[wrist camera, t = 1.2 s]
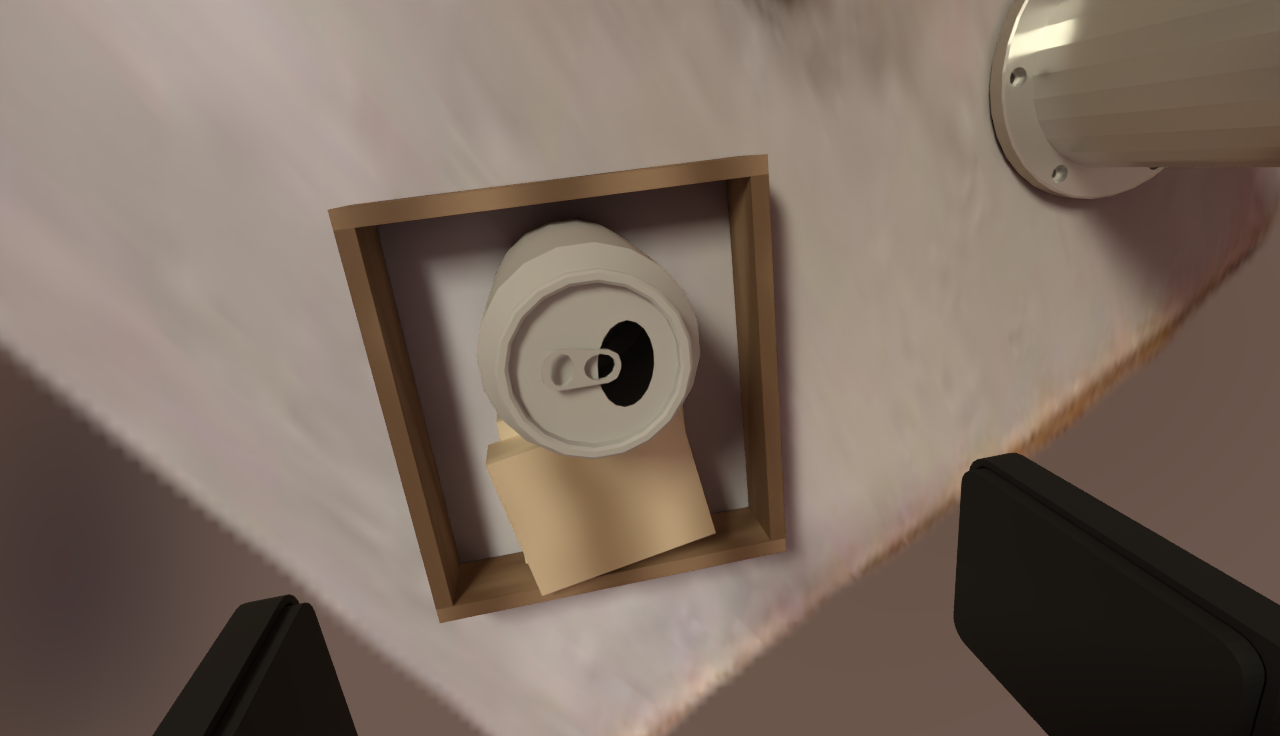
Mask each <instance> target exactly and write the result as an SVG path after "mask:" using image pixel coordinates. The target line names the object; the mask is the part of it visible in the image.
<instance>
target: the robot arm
mask: <svg viewBox="0 0 1280 736" xmlns="http://www.w3.org/2000/svg"><path fill="white" fill-rule="evenodd" d="M990 100H991V114H992V119H993V123H994V127H995V131H996V135H997V138H998V140H999V143H1000V145H1001V147H1002V149H1003V151H1004V154H1005V156H1006V158H1007V159H1008V160H1009V162H1010V163H1011V164H1012V166H1013V167H1014V168H1015V170H1016V171H1017V172H1018V173H1019V174H1020V175H1021V176H1022V177H1023V178H1024V179H1026V180H1027V181H1028V182H1029V183H1031V184H1032V185H1033V186H1034V187H1037V188H1039V189H1041V190H1043V191H1045V192H1047V193H1049V194H1052V195H1057V196H1062V197H1067V198H1081V199H1097V198H1104V197H1110V196H1115V195H1118V194H1120V193H1123V192H1126V191H1129V190H1131V189H1134V188H1136V187H1137V186H1139V185H1141V184H1143V183H1144V182H1146V181H1148V180H1150V179H1151V178H1153V177H1154V176H1156V175H1157V174H1158V173H1159V172H1161V171H1162V170H1163V169H1164V168H1165V167H1280V0H1015V1H1014V3H1013V4H1012V6H1011V8H1010V10H1009V13H1008V15H1007V17H1006V20H1005V22H1004V24H1003V27H1002V29H1001V32H1000V34H999V38H998V42H997V46H996V50H995V53H994V57H993V61H992V71H991V81H990ZM954 623H955V627H956V630H957V632H958V634H959V636H960V638H961V639H962V641H963V642H964V643H965V645H966V646H967V647H968V648H969V649H970V650H971V651H972V652H973V653H974V654H975V656H976V657H977V658H978V659H979V660H980V661H981V662H982V663H983V664H984V665H985V667H986V668H988V670H989V671H990V672H991V673H992V674H993V675H994V676H995V677H996V679H997V680H998V681H999V682H1000V683H1001V684H1002V685H1003V686H1004V687H1005V688H1006V689H1007V690H1008V692H1009V693H1010V694H1011V695H1012V696H1013V697H1014V698H1015V699H1016V700H1017V701H1018V703H1019V704H1020V705H1021V706H1022V707H1023V708H1024V709H1025V710H1026V711H1027V712H1028V713H1029V715H1030V716H1031V717H1032V718H1033V719H1034V720H1035V721H1036V722H1037V723H1038V724H1039V725H1040V727H1042V729H1043V730H1044V731H1045V732H1046V733H1047V734H1048V735H1049V736H1280V605H1278V604H1277V603H1275V602H1273V601H1271V600H1270V599H1268V598H1266V597H1265V596H1263V595H1261V594H1260V593H1258V592H1256V591H1254V590H1253V589H1251V588H1249V587H1247V586H1246V585H1244V584H1242V583H1241V582H1239V581H1237V580H1235V579H1234V578H1232V577H1230V576H1229V575H1227V574H1225V573H1223V572H1222V571H1220V570H1218V569H1217V568H1215V567H1213V566H1211V565H1210V564H1208V563H1206V562H1204V561H1203V560H1201V559H1199V558H1198V557H1196V556H1194V555H1192V554H1190V553H1189V552H1187V551H1186V550H1184V549H1182V548H1180V547H1179V546H1177V545H1175V544H1174V543H1172V542H1170V541H1168V540H1167V539H1165V538H1163V537H1162V536H1160V535H1158V534H1156V533H1155V532H1153V531H1151V530H1150V529H1148V528H1146V527H1144V526H1143V525H1141V524H1139V523H1138V522H1136V521H1134V520H1132V519H1131V518H1129V517H1127V516H1126V515H1124V514H1122V513H1120V512H1119V511H1117V510H1115V509H1114V508H1112V507H1110V506H1108V505H1107V504H1105V503H1103V502H1102V501H1099V500H1098V499H1096V498H1094V497H1093V496H1091V495H1090V494H1088V493H1086V492H1084V491H1083V490H1081V489H1079V488H1078V487H1076V486H1074V485H1072V484H1071V483H1069V482H1067V481H1065V480H1064V479H1062V478H1060V477H1059V476H1057V475H1055V474H1053V473H1052V472H1050V471H1048V470H1046V469H1045V468H1043V467H1041V466H1040V465H1038V464H1036V463H1035V462H1033V461H1031V460H1029V459H1028V458H1026V457H1024V456H1023V455H1020V454H1017V453H1007V454H1002V455H997V456H992V457H987V458H982V459H977V460H976V461H974V462H973V463H972V465H971V466H970V470H969V471H968V472H966V473H965V474H964V476H963V478H962V484H961V500H960V518H959V534H958V550H957V567H956V583H955V600H954ZM153 736H358V735H357V732H356V729H355V726H354V723H353V720H352V718H351V715H350V712H349V709H348V706H347V703H346V700H345V697H344V694H343V692H342V689H341V686H340V683H339V680H338V677H337V674H336V671H335V668H334V666H333V663H332V660H331V657H330V654H329V651H328V649H327V646H326V643H325V640H324V637H323V634H322V631H321V628H320V625H319V622H318V619H317V617H316V614H315V611H314V609H313V607H312V606H311V605H310V604H309V603H301V604H299V602H298V600H297V599H296V598H295V597H294V596H293V595H284V596H278V597H273V598H268V599H263V600H258V601H253V602H248V603H244V604H242V605H240V606H239V607H238V608H237V609H236V611H235V612H234V613H233V615H232V617H231V618H230V619H229V621H228V623H227V624H226V626H225V627H224V629H223V630H222V632H221V633H220V635H219V636H218V638H217V639H216V641H215V642H214V644H213V645H212V647H211V648H210V650H209V651H208V653H207V654H206V656H205V657H204V659H203V660H202V662H201V663H200V665H199V666H198V668H197V669H196V671H195V672H194V674H193V675H192V677H191V678H190V680H189V681H188V683H187V684H186V686H185V687H184V689H183V690H182V692H181V693H180V695H179V696H178V698H177V699H176V701H175V702H174V704H173V705H172V707H171V708H170V710H169V712H168V713H167V715H166V716H165V718H164V719H163V721H162V722H161V724H160V725H159V727H158V728H157V730H156V731H155V733H154V734H153Z"/></svg>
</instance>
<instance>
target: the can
mask: <svg viewBox="0 0 1280 736" xmlns="http://www.w3.org/2000/svg"><path fill="white" fill-rule="evenodd" d="M699 358H700V345H699V333H698V322H697V320H696V317H695V315H694V313H693V310H692V308H691V306H690V304H689V301H688V299H687V297H686V294H685V292H684V291H683V289H682V288H681V287H680V286H679V285H678V284H677V283H676V282H675V281H674V280H673V278H672V277H671V276H670V275H669V274H668V273H667V272H666V271H665V270H664V269H663V267H662V266H661V265H659V264H658V263H657V262H655V261H654V260H652V259H651V258H650V257H648V256H647V255H646V254H644V253H643V252H642V251H640V250H639V249H638V248H636V247H635V246H634V245H632V244H631V243H630V242H628V241H627V240H626V239H624V238H623V237H622V236H620V235H618V234H616V233H615V232H613V231H611V230H609V229H608V228H606V227H604V226H602V225H600V224H598V223H593V222H587V221H582V220H577V219H569V220H562V221H554V222H548V223H546V224H544V225H542V226H540V227H538V228H536V229H534V230H532V231H529V232H527V233H525V234H524V235H523V236H522V237H521V238H520V239H519V240H518V241H517V242H516V243H515V244H514V245H513V246H512V247H511V248H510V249H509V250H508V251H507V253H506V255H505V257H504V259H503V261H502V263H501V265H500V267H499V269H498V271H497V273H496V275H495V278H494V282H493V285H492V288H491V291H490V295H489V298H488V301H487V304H486V308H485V311H484V314H483V318H482V321H481V327H480V335H479V343H478V350H477V360H478V365H479V370H480V375H481V379H482V384H483V389H484V391H485V393H486V395H487V396H488V398H489V400H490V401H491V403H492V405H493V406H494V408H495V410H496V411H497V413H498V415H499V416H500V418H501V419H502V420H503V421H504V422H505V423H506V424H507V425H509V426H510V427H511V428H512V429H513V430H514V431H516V432H517V433H518V434H519V435H520V436H521V437H523V438H524V439H525V440H526V441H528V442H530V443H533V444H535V445H538V446H540V447H542V448H545V449H547V450H549V451H552V452H554V453H556V454H561V455H564V456H570V457H579V458H588V459H598V458H604V457H609V456H615V455H620V454H624V453H626V452H628V451H630V450H632V449H634V448H637V447H639V446H641V445H643V444H645V443H647V442H649V441H650V440H651V439H653V438H654V437H655V436H656V435H657V434H658V433H659V432H660V431H661V430H662V429H663V428H664V427H666V426H667V425H668V424H669V423H670V422H671V421H672V420H673V418H674V416H675V415H676V414H677V413H678V411H679V409H680V408H681V406H682V404H683V402H684V401H685V399H686V397H687V396H688V394H689V392H690V391H691V389H692V387H693V384H694V380H695V375H696V371H697V367H698V363H699Z"/></svg>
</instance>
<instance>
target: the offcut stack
mask: <svg viewBox="0 0 1280 736" xmlns="http://www.w3.org/2000/svg"><path fill="white" fill-rule="evenodd" d="M497 427H498V432H499V437H500V441H499V442H496V443H493V444H490V445H488V452H487V459H486V465H485V466H486V468H487V470H488V473H489V475H490V477H491V480H492V482H493V484H494V486H495V489H496V491H497V493H498V496H499V498H500V500H501V503H502V505H503V507H504V509H505V512H506V514H507V516H508V519H509V521H510V523H511V525H512V528H513V530H514V532H515V535H516V537H517V539H518V542H519V544H520V546H521V548H522V551H523V553H524V557H525V562H526V564H527V563H528V564H529V567H530V569H531V571H532V574H533V576H534V578H535V581H536V583H537V585H538V587H539V590H540V592H541V594H542V596H544V595H547V594H549V593H552V592H555V591H558V590H560V589H563V588H566V587H569V586H571V585H574V584H577V583H580V582H582V581H585V580H588V579H591V578H593V577H596V576H599V575H602V574H604V573H607V572H610V571H613V570H615V569H618V568H621V567H624V566H626V565H629V564H632V563H635V562H637V561H640V560H643V559H646V558H649V557H651V556H654V555H657V554H660V553H662V552H665V551H668V550H671V549H673V548H676V547H679V546H682V545H684V544H687V543H690V542H693V541H695V540H698V539H701V538H704V537H706V536H709V535H712V534H715V533H716V532H715V529H714V525H713V522H712V519H711V515H710V512H709V509H708V505H707V502H706V499H705V495H704V492H703V489H702V485H701V482H700V479H699V475H698V472H697V469H696V465H695V462H694V459H693V455H692V452H691V449H690V445H689V442H688V439H687V435H686V432H685V424H684V414H683V405H682V406H681V408H680V409H679V411H678V413H677V414H676V415H675V416H674V418H673V420H672V421H671V422H670V423H669V424H668V425H667V426H666V427H664V428H663V429H662V430H661V431H660V432H659V433H658V434H657V435H656V436H655V437H654V438H653V439H651V440H650V441H649V442H647V443H645V444H643V445H641V446H639V447H637V448H634V449H632V450H630V451H628V452H626V453H624V454H620V455H615V456H609V457H604V458H598V459H588V458H579V457H570V456H564V455H561V454H556V453H554V452H552V451H549V450H547V449H545V448H542V447H540V446H538V445H535V444H533V443H530V442H528V441H526V440H525V439H524V438H523V437H521V436H520V435H519V434H518V433H517V432H516V431H514V430H513V429H512V428H511V427H510V426H509V425H507V424H506V423H505V422H504V421H503V420H502V419H501V418H500V416H499V415H498V414H497Z"/></svg>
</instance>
